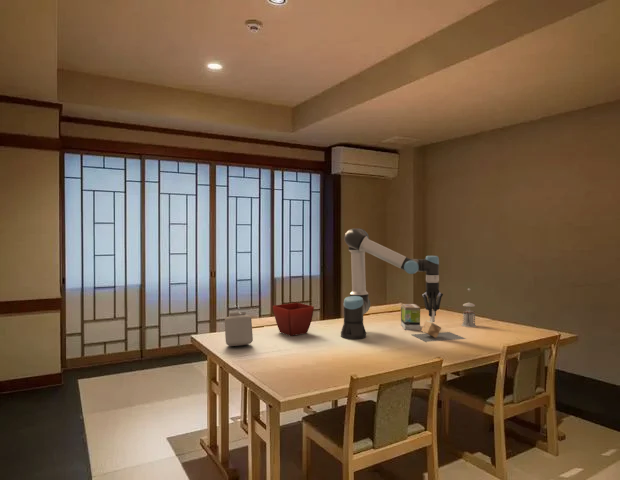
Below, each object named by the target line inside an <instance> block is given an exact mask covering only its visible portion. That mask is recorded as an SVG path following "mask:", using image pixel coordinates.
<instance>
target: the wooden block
mask: <svg viewBox="0 0 620 480" xmlns="http://www.w3.org/2000/svg"><path fill="white" fill-rule="evenodd" d="M441 330H442V327H441V326H439V325H437V324H435V322H430V320H427V319H426V320H425V322H424V324H423V325H422V328H421V329H420V331H421V332H423V333H424V334H428V335H430V336H432V337H435V338H437V336H438V334H439V333H441Z"/></svg>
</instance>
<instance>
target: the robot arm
mask: <svg viewBox="0 0 620 480" xmlns="http://www.w3.org/2000/svg"><path fill="white" fill-rule="evenodd" d="M343 239H344V243H345V244H346V245H347V246H348V252H350V256H351V257H350V261H351V262H350V266H351V292H350V293H349V296H346V297H345V298H344V300H343V324H342V328H341V331H340V337H341V338H343V339H348V340H361V339H365V338H367V331H366V329H365V325H364V315H365V314H367V313H368V311H369V310H370V308H371V301H370V297H369V292H368V291H367V284H366V280H367V279H366V253H367V254H369V255H372V256H373V257H376V258H378V259H380V260H382V261H384V262H386V263H388V264H391V265H392V266H394V267H396V268H399V269H401V270H403V271H405V272H406V273H407V274H409V275H414V274H416V273H417V272H419V273H420V272H423V273H425V292H424V293H422V294H421V296H422V298H423V299H422V300H423V303H424V308H425V310H426V311H428V316H429V321H430V322H432V323H435V321H436V317H437V311H438V310H439V309H440V305H441V301H442V297H443V296H444V293H441V292H440V258H439V256H438V255H426V256H425V258H423V259H421V258H409V257H407V256H405V255H403V254H401V253H399V252H397V251H395V250H392V249H390V248H388V247H386V246H384V245H382V244H379V243H378V242H375V241H373V240H371V239H370V238H369V234H368V232H366V230H364V229H362V228H350V229H348V230H347V231H346V232H345V233H344V237H343Z"/></svg>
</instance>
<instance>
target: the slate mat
mask: <svg viewBox="0 0 620 480" xmlns="http://www.w3.org/2000/svg"><path fill="white" fill-rule="evenodd" d="M411 336H413V337H414V338H416V339H419V340H420V341H423V342H425V343H427V342H442V341H454V340H467V338H466V337H463V336H461V335H458V334H455V333H453V332H451V331H443V332H439V334H438V336H437V338H435V337H432V336H430V335H428V334H426V333H413V334H411Z"/></svg>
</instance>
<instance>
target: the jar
mask: <svg viewBox="0 0 620 480" xmlns="http://www.w3.org/2000/svg"><path fill="white" fill-rule="evenodd" d="M234 307H236V305H234ZM237 308H238V309H240V307H239V305H238V307H237ZM224 334H225V335H224V337H225V344H226V345H227V346H229V347H234V346H235V347H236V346H245V345H249V344H252V343H253V342H254V340H253V339H254V336H253V335H254V334H253V322H252V316H250V315H248V314H247V313H246V311H241V312H240V311H239V312H231V313H229V316H227V317H225V319H224Z"/></svg>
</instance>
